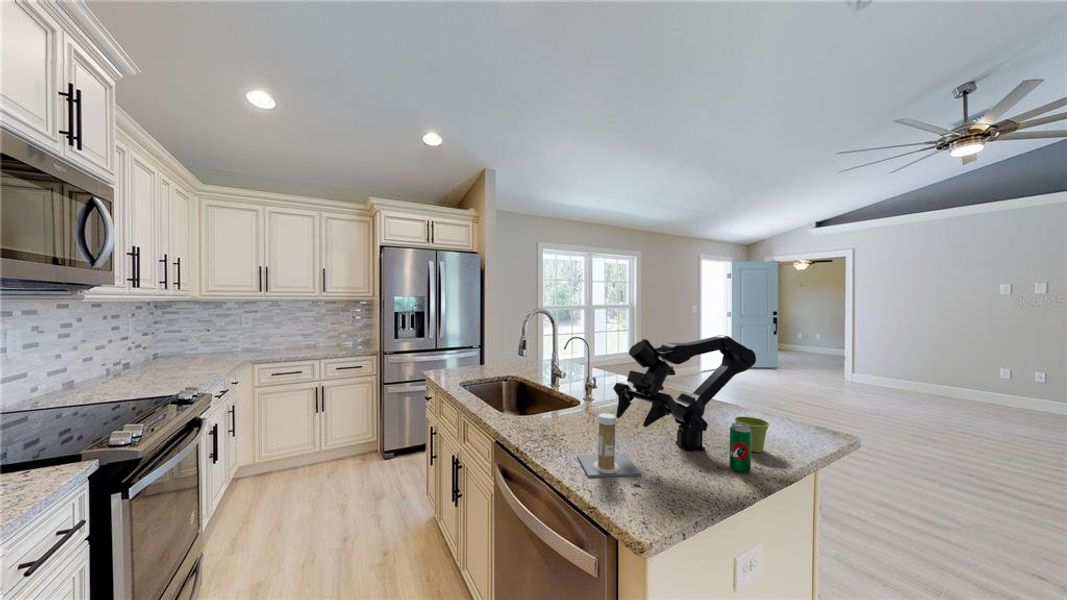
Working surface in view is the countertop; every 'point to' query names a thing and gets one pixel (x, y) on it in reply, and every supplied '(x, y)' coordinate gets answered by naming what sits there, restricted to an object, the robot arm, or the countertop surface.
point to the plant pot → (755, 431)
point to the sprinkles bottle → (606, 441)
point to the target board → (621, 469)
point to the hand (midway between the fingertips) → (630, 421)
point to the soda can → (740, 448)
